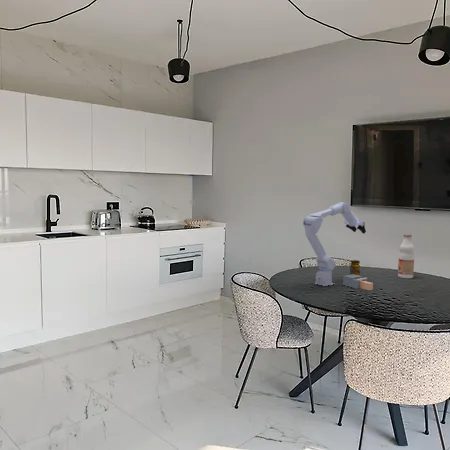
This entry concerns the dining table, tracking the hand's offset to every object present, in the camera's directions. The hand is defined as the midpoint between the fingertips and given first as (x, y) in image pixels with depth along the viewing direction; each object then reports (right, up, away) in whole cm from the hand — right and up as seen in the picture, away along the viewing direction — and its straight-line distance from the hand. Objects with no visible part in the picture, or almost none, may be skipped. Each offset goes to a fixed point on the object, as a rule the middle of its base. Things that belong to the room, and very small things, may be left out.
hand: (360, 231), depth 281 cm
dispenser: (-8, -32, -16) cm, 37 cm away
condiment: (-3, -31, +4) cm, 31 cm away
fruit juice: (+33, -30, +11) cm, 46 cm away
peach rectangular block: (-4, -33, -21) cm, 39 cm away
